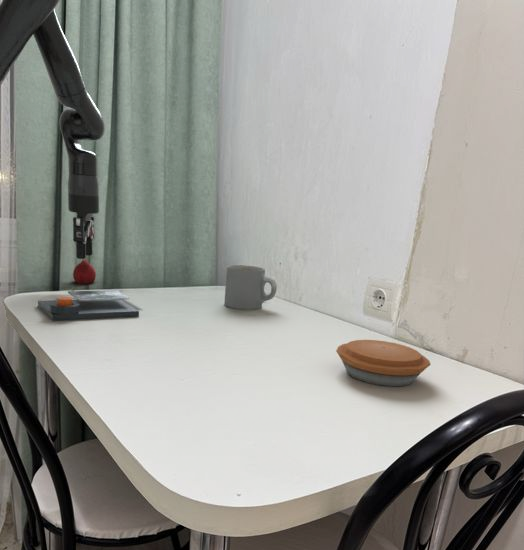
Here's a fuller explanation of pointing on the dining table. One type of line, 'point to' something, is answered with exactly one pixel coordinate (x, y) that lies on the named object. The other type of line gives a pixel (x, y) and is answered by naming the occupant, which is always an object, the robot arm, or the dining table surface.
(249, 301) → the coffee mug
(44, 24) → the robot arm
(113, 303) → the scale
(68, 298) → the tare button
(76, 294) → the weighing plate
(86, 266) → the onion
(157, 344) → the dining table surface
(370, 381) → the pie
